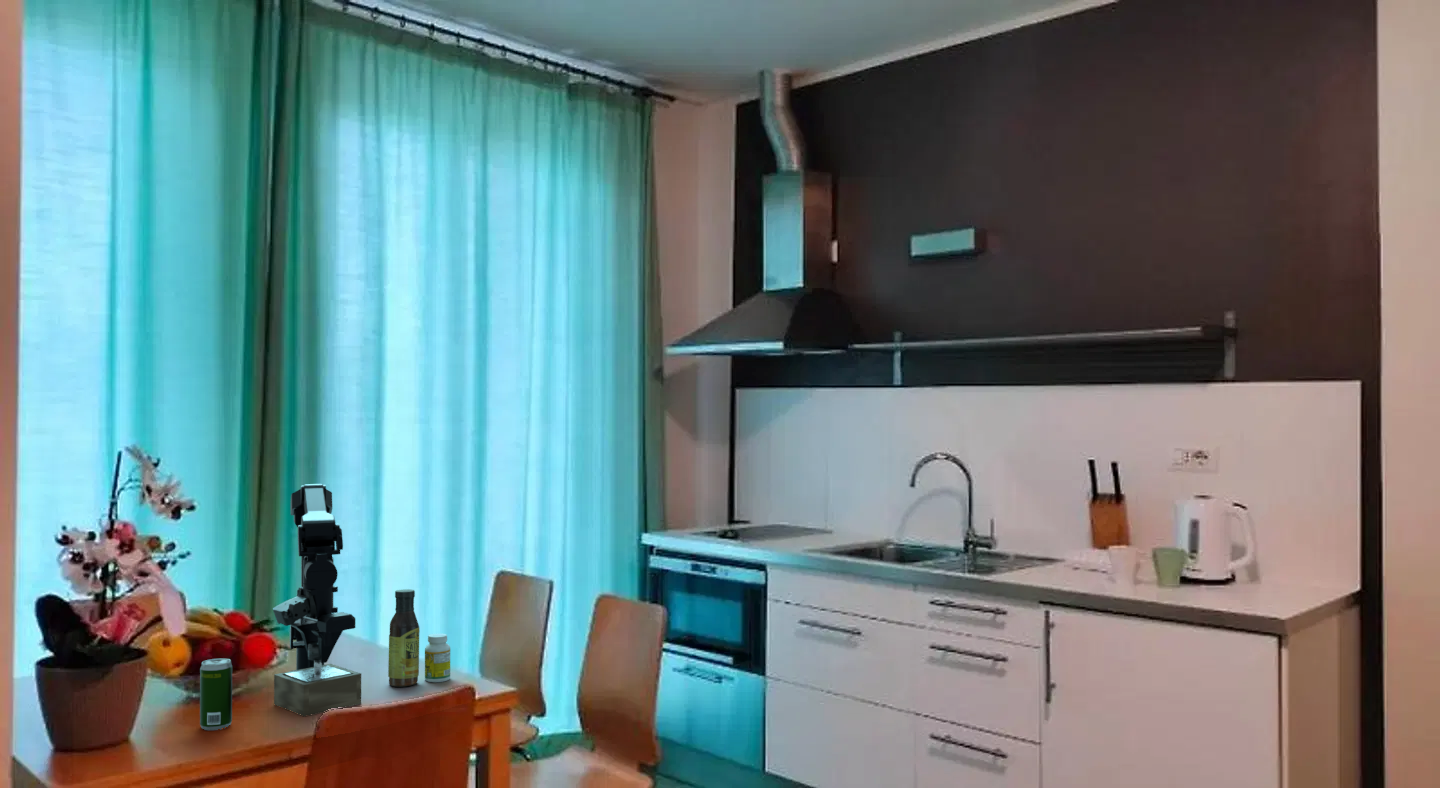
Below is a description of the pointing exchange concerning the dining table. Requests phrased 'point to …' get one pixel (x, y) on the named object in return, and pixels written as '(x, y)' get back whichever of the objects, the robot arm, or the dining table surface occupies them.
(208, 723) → the beer can
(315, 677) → the plunger
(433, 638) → the supplement bottle
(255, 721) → the dining table surface
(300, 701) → the frame
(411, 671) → the sauce bottle
